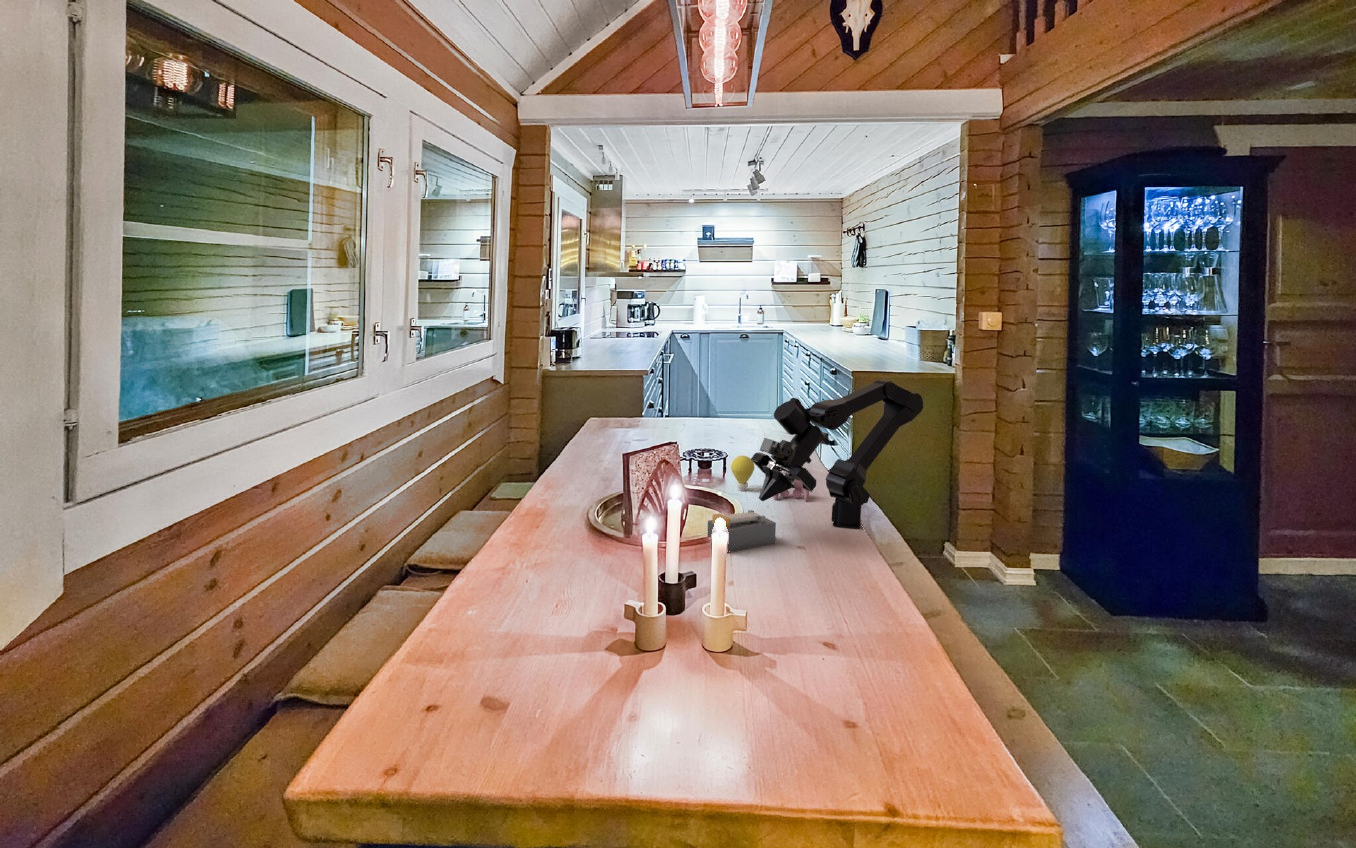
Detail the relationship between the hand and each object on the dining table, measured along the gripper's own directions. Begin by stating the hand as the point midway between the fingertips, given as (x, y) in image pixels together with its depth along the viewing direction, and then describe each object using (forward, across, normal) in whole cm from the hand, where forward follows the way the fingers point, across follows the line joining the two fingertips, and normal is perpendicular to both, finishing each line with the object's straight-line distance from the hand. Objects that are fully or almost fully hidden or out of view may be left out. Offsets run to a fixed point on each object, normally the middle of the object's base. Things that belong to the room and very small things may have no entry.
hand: (760, 499), depth 168 cm
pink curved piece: (-12, -24, +26) cm, 38 cm away
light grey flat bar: (+6, 0, -1) cm, 6 cm away
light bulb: (-7, -38, +21) cm, 43 cm away
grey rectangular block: (+10, 0, +3) cm, 11 cm away
